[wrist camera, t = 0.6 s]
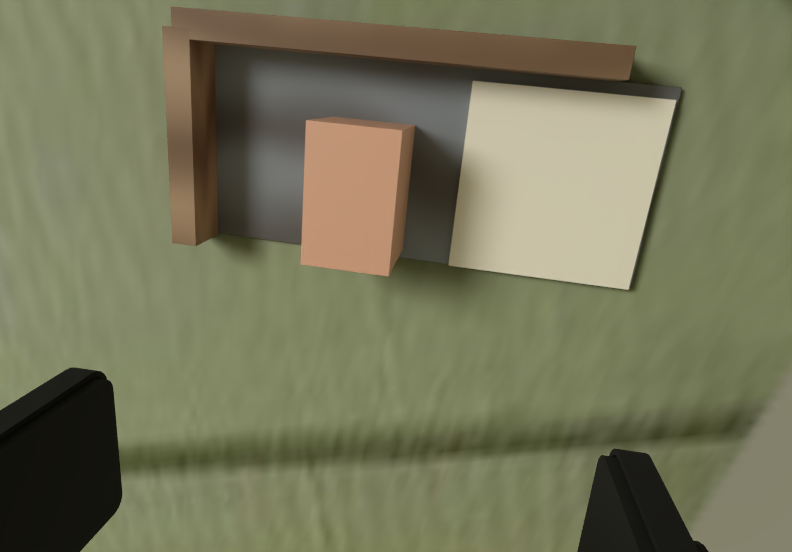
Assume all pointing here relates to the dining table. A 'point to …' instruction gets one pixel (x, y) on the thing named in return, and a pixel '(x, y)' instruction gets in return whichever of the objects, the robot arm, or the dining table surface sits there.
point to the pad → (557, 182)
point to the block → (355, 193)
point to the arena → (341, 111)
